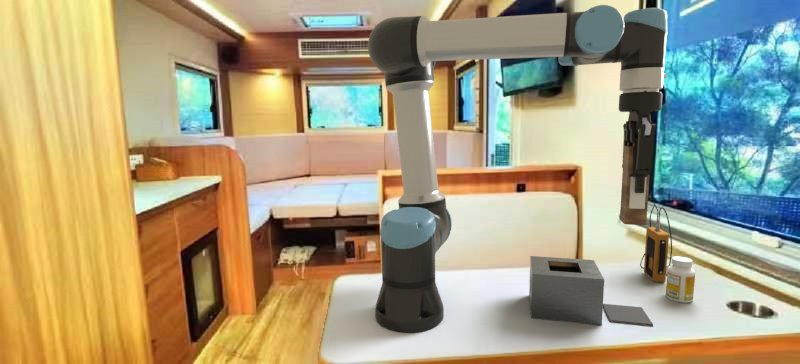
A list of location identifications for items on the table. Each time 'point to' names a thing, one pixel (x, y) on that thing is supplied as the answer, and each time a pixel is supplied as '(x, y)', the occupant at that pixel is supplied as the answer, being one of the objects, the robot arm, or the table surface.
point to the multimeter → (656, 251)
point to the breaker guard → (566, 290)
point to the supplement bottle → (680, 280)
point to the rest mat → (627, 314)
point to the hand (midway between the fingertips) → (633, 205)
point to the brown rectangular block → (627, 213)
